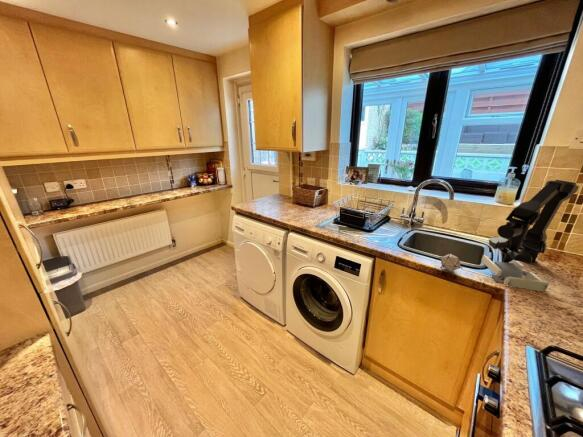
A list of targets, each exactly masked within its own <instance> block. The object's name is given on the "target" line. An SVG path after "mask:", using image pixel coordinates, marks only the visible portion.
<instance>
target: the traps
mask: <svg viewBox="0 0 583 437" xmlns="http://www.w3.org/2000/svg"><path fill="white" fill-rule="evenodd" d="M522 271H523V275H525V277H527V274H528V272H529V271H525V270H522ZM491 275H492V278H493V279H494V280H495V281H496V282H495V281H494V280H493V279H492V278H491V279H492V280H493V281H494V282H495V283H498V282H502V283H501V284H504V280H502V279H501V278H500V277H499V276H497V275H495V274H491Z"/></svg>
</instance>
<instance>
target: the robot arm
mask: <svg viewBox="0 0 583 437" xmlns="http://www.w3.org/2000/svg"><path fill="white" fill-rule="evenodd" d="M579 188H580V186H579V185H577V182H574V181H568V180H562V179H555V180H547V181H546V182H545V184H544V187H542V188H541V189H540V190H539V191H538V192H537V193H535V195H534V196H533V197H532V198H530V200H528V201H525V202H521V203H520V204H518V205H517V206H515V207H514V208H513V209H512V210H511V211H510V213H509V215H507V217H506V218H505V221H507V222H506V223H505V224H502V225H500V226H499V227H498V228H497V234H498V236H496V235H495V236H493V237H490V238H488V245H489V246H490V247H491V248H492V249H494V250H499V251H500V253H501V262H506V263H511V261H512V260H515V261H518V262H522V263H533V264H538V263H539V262H538V261H537V258H538V255H539V254H544V253H545V251H547V250H546V249H547V248H548V247H547V242H546V241H547V239H548V237H547V229H548V228H549V226H550V224H551V223H552V221H553V220H554V217H555V216H556V214H557V212H558V211H559V209H560V207H561V206H562V204H563V202H565V201H567V200H569V199H571V198H572V197H573V196H574V195H575V194H576V193H577V192H578V191H579ZM531 226H532V227H531ZM530 227H531V228H530Z"/></svg>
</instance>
